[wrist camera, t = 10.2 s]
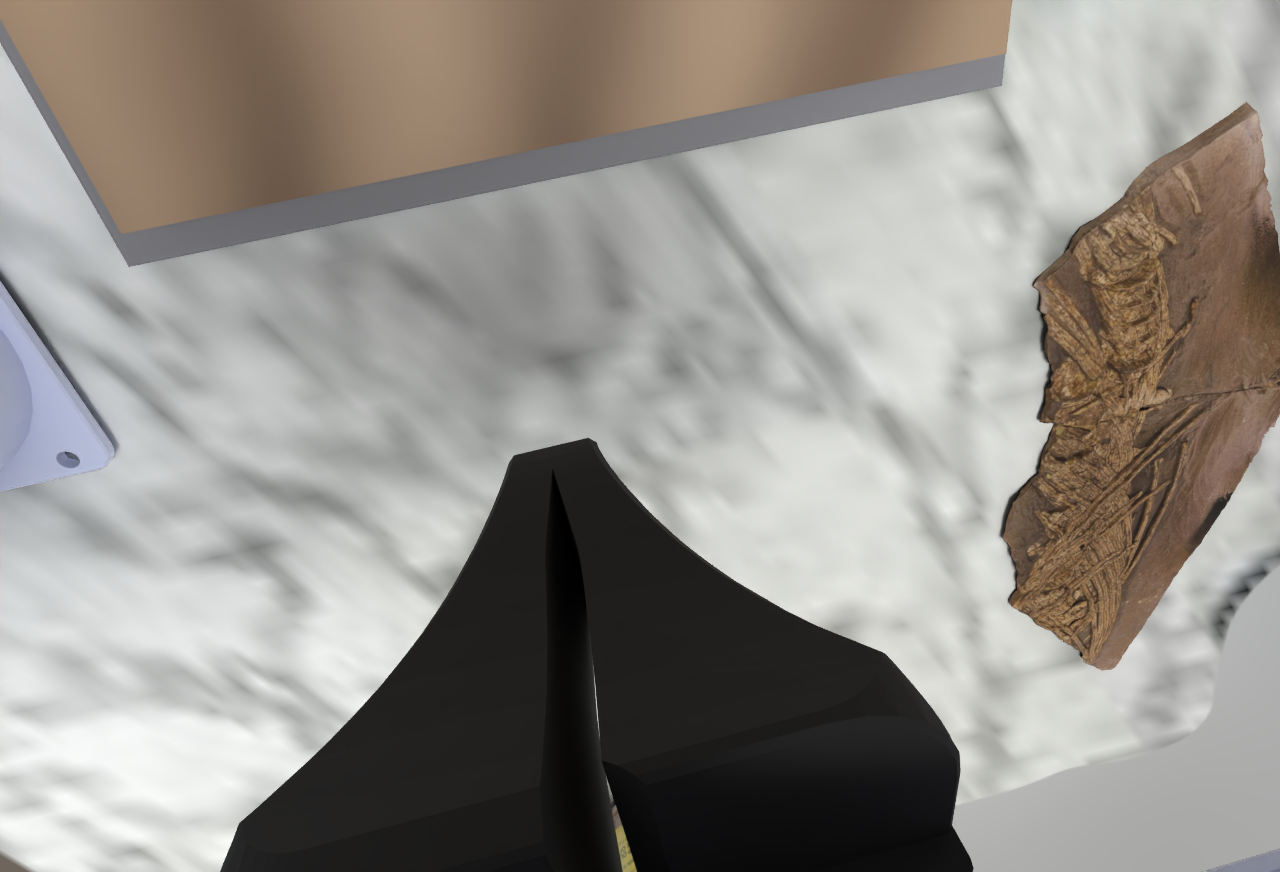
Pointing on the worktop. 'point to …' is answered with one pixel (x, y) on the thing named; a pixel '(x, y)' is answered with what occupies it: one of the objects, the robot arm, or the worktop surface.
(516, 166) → the underlay mat
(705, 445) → the worktop surface
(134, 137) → the walnut floorboard
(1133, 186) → the wooden fragment
